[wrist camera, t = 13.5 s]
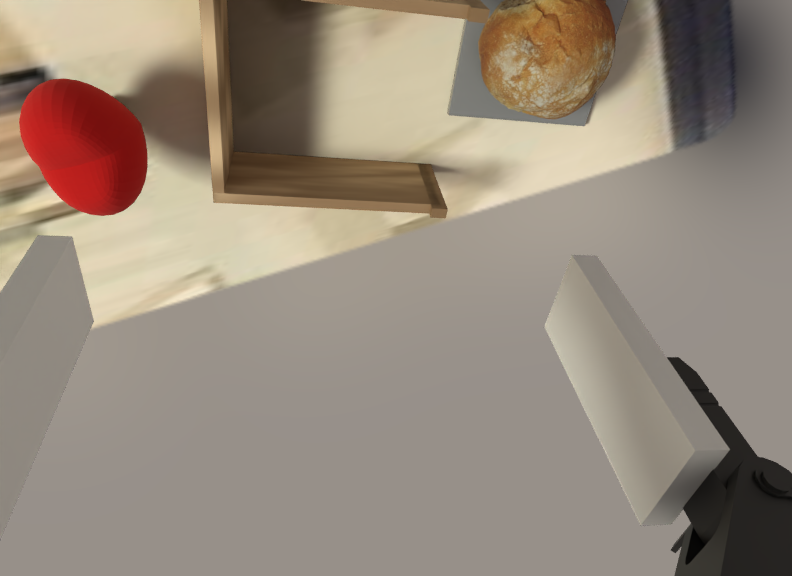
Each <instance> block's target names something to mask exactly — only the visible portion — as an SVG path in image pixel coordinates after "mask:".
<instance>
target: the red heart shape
mask: <svg viewBox="0 0 792 576" xmlns="http://www.w3.org/2000/svg"><path fill="white" fill-rule="evenodd" d="M19 124H20V133H21V138H22V140H23V143H24V146H25V148H26V150H27V152H28V153H29V155H30V157H31V158H32V160H33V161H34V162H35V163H36V164H37V165H38V166H39V167H40V169H41V171H42V174H43V176H44V178H45V179H46V181H47V182H48V184H49V185H50V186H51V188H52V189H53V191H54V192H55V193H56V194H57V195H58V196H59V197H60V198H61V199H62V200H63V201H65V202H66V203H67V204H68V205H70V206H71V207H73V208H75V209H77V210H79V211H81V212H85V213H88V214H92V215H100V216H104V215H114V214H116V213H119V212H121V211H124V210H125V209H127V208H128V207H129V206H130V205H132V204H133V203H134V202H135V200H136V199H137V197H138V196H139V194H140V193H141V190H142V188H143V185H144V183H145V179H146V173H147V147H146V140H145V136H144V132H143V129H142V125H141V123H140V122H139V120H138V119H137V118H136V117H135V116H134V115H133V114H132V113H131V112H130V111H129V110H128V109H127V108H126V107H125V106H124V105H123V104H122V103H120V102H119V101H118V100H116V99H115V98H114V97H112V96H111V95H109V94H107V93H106V92H104V91H102V90H100V89H98V88H96V87H94V86H92V85H90V84H87V83H84V82H81V81H77V80H70V79H53V80H49V81H46V82H44V83H42V84H40V85H38V86H37V87H36V88H35V89H33V90H32V91H31V92H30V93H29V95H28V96H27V98H26V100H25V102H24V104H23V106H22V109H21V114H20V120H19Z"/></svg>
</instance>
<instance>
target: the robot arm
mask: <svg viewBox="0 0 792 576" xmlns="http://www.w3.org/2000/svg"><path fill="white" fill-rule="evenodd" d="M93 322H94V320H93V316H92V312H91V308H90V304H89V300H88V297H87V293H86V289H85V285H84V281H83V277H82V273H81V269H80V265H79V261H78V257H77V254H76V250H75V246H74V242H73V238H72V237H70V236H42V235H38V236H37V237H36V239H35V240H34V242H33V243H32V245H31V247H30V248H29V250H28V251H27V253H26V254H25V256H24V257H23V259H22V260H21V262H20V263H19V265H18V266H17V268H16V269H15V271H14V272H13V274H12V276H11V277H10V279H9V280H8V282H7V283H6V285H5V286H4V288H3V289H2V291H1V292H0V540H1V537H2V535H3V533H4V530H5V528H6V526H7V523H8V521H9V519H10V516H11V514H12V511H13V509H14V507H15V505H16V502H17V500H18V498H19V495H20V493H21V491H22V488H23V486H24V484H25V481H26V479H27V477H28V474H29V472H30V470H31V467H32V465H33V463H34V460H35V458H36V455H37V453H38V451H39V448H40V446H41V444H42V441H43V439H44V437H45V434H46V432H47V430H48V427H49V425H50V423H51V420H52V418H53V415H54V413H55V411H56V409H57V406H58V404H59V401H60V399H61V397H62V395H63V392H64V390H65V388H66V385H67V383H68V380H69V378H70V376H71V373H72V371H73V369H74V366H75V364H76V362H77V359H78V357H79V354H80V352H81V350H82V348H83V345H84V343H85V341H86V338H87V336H88V334H89V331H90V329H91V327H92V324H93ZM545 329H546V331H547V333H548V335H549V337H550V339H551V341H552V343H553V346H554V347H555V350H556V352H557V354H558V356H559V358H560V360H561V362H562V364H563V366H564V368H565V370H566V373H567V375H568V377H569V378H570V381H571V383H572V385H573V387H574V389H575V391H576V393H577V395H578V397H579V399H580V401H581V403H582V405H583V408H584V409H585V412H586V414H587V416H588V418H589V420H590V422H591V424H592V426H593V428H594V430H595V433H596V435H597V437H598V439H599V440H600V443H601V445H602V447H603V449H604V451H605V453H606V455H607V457H608V459H609V461H610V464H611V466H612V468H613V470H614V472H615V474H616V476H617V478H618V480H619V482H620V484H621V486H622V488H623V490H624V493H625V495H626V497H627V499H628V501H629V503H630V505H631V507H632V509H633V511H634V513H635V515H636V517H637V519H638V521H639V524H640V526H650V525H666V524H667V525H668V524H672V523H673V521H674V520H675V519H676V518H677V517H678V515H679V514H680V513H681V511H682V510H683V509H684V511H685V512H686V515H687V516H688V518H689V520H690V522H691V524H690V526H689V527H688V528H687V529H686V530H685V532H684V533H683V534H682V535H681V536H680V538H679V539H678V540H677V541H676V543H675V544H674V546H673V547H672V549H671V551H673V552H675V553H676V552H677V551H678V550H679V548H680V547H681V546H682V548H681V552H680V556H679V560H678V564H677V568H676V572H675V576H792V473H791V472H790V471H789V470H787V469H786V468H784V467H782V466H781V465H779V464H778V463H776V462H773V461H771V460H768V459H765V458H760V457H758V456H757V455H756V454H755V452H754V451H753V450H752V448H751V447H750V445H749V444H748V443H747V441H746V440H745V439H744V437H743V436H742V434H741V433H740V432H739V430H738V429H737V427H736V426H735V425H734V423H733V422H732V421H731V419H730V418H729V416H728V415H727V414H726V413H725V411H724V410H723V408H722V407H721V406H719V405H718V401H717V400H716V398H715V397H714V396H713V394H712V393H709V389H708V387H707V386H706V385H705V384H704V382H703V380H702V379H701V378H700V376H699V375H698V374H697V372H696V371H694V370H693V369H692V368H691V367H689V366H688V365H687V364H686V363H684V362H683V361H682V360H681V359H680V358H678V357H675V358H674V357H673V358H671V357H666V356H665V354H664V353H663V351H662V350H661V348H660V347H659V346H658V344H657V343H656V341H655V340H654V339H653V337H652V335H651V334H650V333H649V331H648V329H647V328H646V327H645V325H644V324H643V322H642V321H641V319H640V318H639V316H638V315H637V314H636V312H635V311H634V309H633V308H632V306H631V305H630V303H629V302H628V300H627V299H626V298H625V296H624V295H623V293H622V292H621V290H620V289H619V287H618V286H617V284H616V283H615V282H614V280H613V279H612V277H611V276H610V274H609V273H608V271H607V270H606V268H605V267H604V265H603V264H602V263H601V261H600V260H599V258H598V257H597V256H589V255H572V256H571V259H570V262H569V264H568V267H567V269H566V272H565V275H564V277H563V280H562V282H561V285H560V288H559V290H558V293H557V295H556V298H555V301H554V303H553V306H552V309H551V311H550V314H549V316H548V319H547V322H546V324H545Z"/></svg>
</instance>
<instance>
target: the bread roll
mask: <svg viewBox="0 0 792 576" xmlns="http://www.w3.org/2000/svg"><path fill="white" fill-rule="evenodd" d="M615 40H616V35H615V25H614V23H613V19H612V15H611V12H610V9H609V7H608V6H607V5H606V0H504V1H502V2H501V3H500V4H499V5H498V6H497V7H496V9H495V10H494V12H493V13H492V15H491V16H490V17H489V18H488V21H487V24H486V23H485V25H484V28H483V30H482V32H481V35H480V38H479V41H478V46H479V59H480V62H481V74H482V78H483V81H484V83H485V85H486V87H487V88H488V90H489V92H490V93H491V95H493V96H494V98H496V100H498V101H499V102H500V103H501V104H503V105H505V106H506V107H507V108H508V109H512V110H516V111H517V112H523V113H526V114H529V115H533V116H537V117H539V118H544V119H559V118H562V117H565V116H568V115H570V114H572V113H573V112H575V111H576V110H578V109H579V108H581V107H582V106H583V105H584V104H585V103H587V102H588V101H589V100H590V99H591V98H592V97H593V95H594V94H595V92H596V91H597V90H598V89H599V88H600V87H601V85H602V84H603V83H604V81H605V79H606V77H607V75H608V74H609V70H610V68H611V66H612V59H613V55H614V52H615Z"/></svg>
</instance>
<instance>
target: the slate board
mask: <svg viewBox="0 0 792 576" xmlns="http://www.w3.org/2000/svg"><path fill="white" fill-rule="evenodd" d="M480 1H481V2H482V3H483V4H484V5H485V6H486V7H487V8H489V9H490V12H489V16H488V18H489V17H490V16H491V15H492V13H493V12H494V10H495V9H496V7H497V6H498V5H499V4H500V3H501V2H502V1H504V0H480ZM627 1H628V0H606V5H607V6H608V7H609V9H610V12H611V15H612V19H613V23H614V25H615V35H616V33H617V30H618V27H619V25H620V22H621V19H622V16H623V13H624V10H625V7H626V4H627ZM484 25H485V23H477V22H469V21H468V20H467V19H465V22H464V27H463V33H462V38H461V43H460V48H459V54H458V59H457V64H456V70H455V75H454V80H453V85H452V91H451V96H450V101H449V106H448V112H447V113H448V115H454V116H466V117H478V118H491V119H503V120H515V121H527V122H539V123H552V124H564V125H576V126H585V123H586V120H587V118H588V115H589V112H590V109H591V106H592V103H593V100H594V97H595V94H596V92H595V94H594V95H593V97H592V98H591V99H590V100H589V101H588V102H587V103H585V104H584V105H583V106H582V107H581V108H579V109H578V110H576V111H575V112H573V113H572V114H570V115H568V116H565V117H562V118H559V119H544V118H539V117H537V116H533V115H529V114H526V113H523V112H517V111H516V110H512V109H508V108H507V107H506V106H505V105H503V104H501V103H500V102H499V101H498V100H496V98H494V96H493V95H491V93H490V92H489V90H488V88H487V87H486V85H485V83H484V81H483V78H482V74H481V62H480V59H479V46H478V41H479V38H480V35H481V32H482V30H483V28H484Z"/></svg>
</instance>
